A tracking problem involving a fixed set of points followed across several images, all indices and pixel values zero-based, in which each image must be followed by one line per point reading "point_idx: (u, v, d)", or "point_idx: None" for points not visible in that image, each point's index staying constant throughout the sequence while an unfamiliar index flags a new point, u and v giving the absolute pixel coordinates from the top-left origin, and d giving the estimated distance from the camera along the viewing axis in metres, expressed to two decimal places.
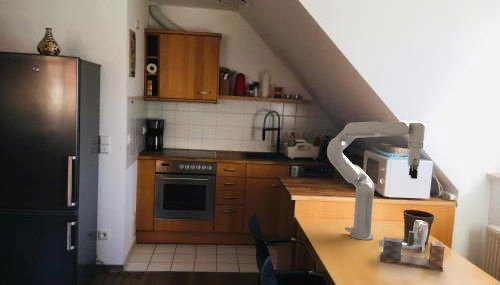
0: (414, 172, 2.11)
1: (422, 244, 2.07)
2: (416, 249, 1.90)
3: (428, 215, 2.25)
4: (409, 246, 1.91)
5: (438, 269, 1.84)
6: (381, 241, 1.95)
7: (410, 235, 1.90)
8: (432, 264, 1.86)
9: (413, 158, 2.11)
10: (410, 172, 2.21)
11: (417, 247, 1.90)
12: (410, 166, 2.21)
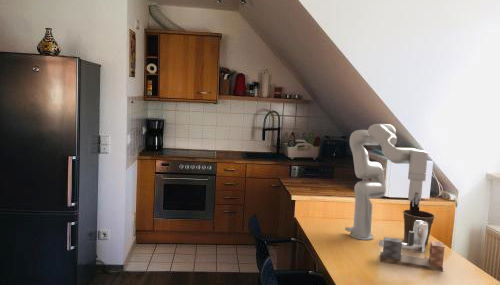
0: (415, 208, 1.84)
1: (422, 244, 2.07)
2: (416, 249, 1.90)
3: (428, 215, 2.25)
4: (409, 246, 1.91)
5: (438, 269, 1.84)
6: (381, 241, 1.95)
7: (410, 235, 1.90)
8: (432, 264, 1.86)
9: (414, 192, 1.84)
10: (411, 206, 1.94)
11: (417, 247, 1.90)
12: None
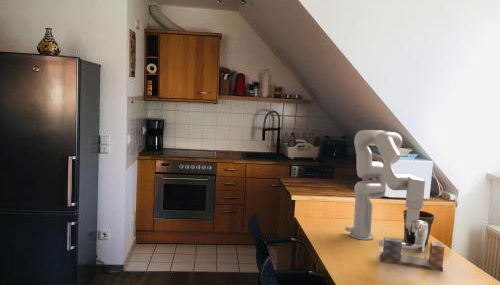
0: (411, 237, 1.89)
1: (422, 244, 2.07)
2: (416, 249, 1.90)
3: (428, 215, 2.25)
4: (409, 246, 1.91)
5: (438, 269, 1.84)
6: (381, 241, 1.95)
7: None
8: (432, 264, 1.86)
9: (411, 220, 1.86)
10: None
11: (417, 247, 1.90)
12: (408, 229, 1.93)
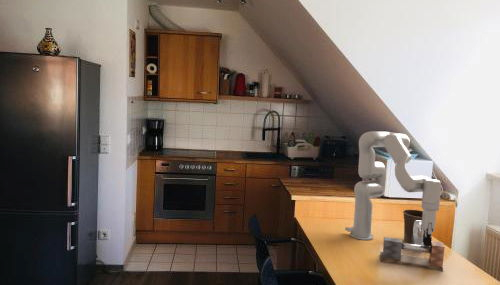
0: (428, 239, 1.87)
1: (422, 244, 2.07)
2: None
3: None
4: (425, 248, 1.89)
5: (438, 269, 1.84)
6: None
7: None
8: (432, 264, 1.86)
9: (427, 222, 1.84)
10: None
11: None
12: (424, 231, 1.91)
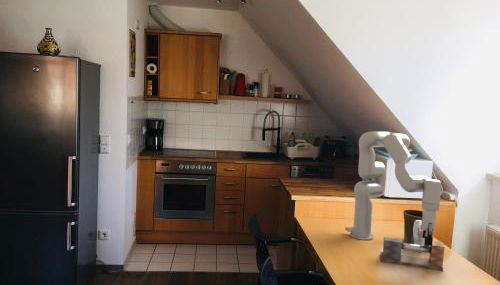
0: (429, 238, 1.84)
1: (422, 244, 2.07)
2: None
3: None
4: (425, 248, 1.89)
5: (438, 269, 1.84)
6: None
7: None
8: (432, 264, 1.86)
9: (428, 222, 1.84)
10: (424, 235, 1.94)
11: None
12: None
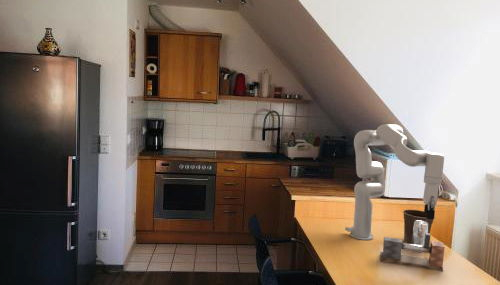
0: (431, 212, 1.83)
1: (422, 244, 2.07)
2: None
3: None
4: (425, 248, 1.89)
5: (438, 269, 1.84)
6: None
7: (426, 237, 1.88)
8: (432, 264, 1.86)
9: (430, 196, 1.83)
10: (426, 209, 1.93)
11: None
12: None
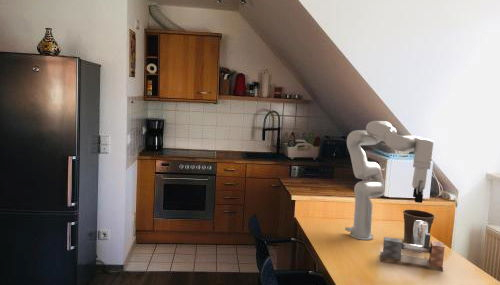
0: (419, 195, 1.88)
1: (422, 244, 2.07)
2: None
3: (428, 215, 2.25)
4: (425, 248, 1.89)
5: (438, 269, 1.84)
6: None
7: (426, 237, 1.88)
8: (432, 264, 1.86)
9: (418, 180, 1.88)
10: (414, 193, 1.98)
11: None
12: None
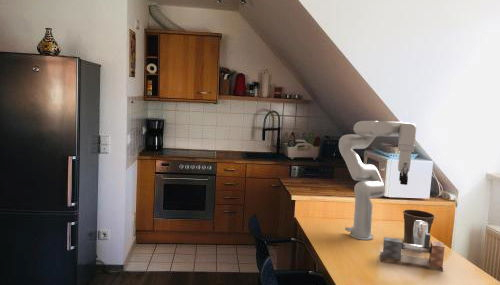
0: (404, 177, 1.94)
1: (422, 244, 2.07)
2: None
3: (428, 215, 2.25)
4: (425, 248, 1.89)
5: (438, 269, 1.84)
6: None
7: (426, 237, 1.88)
8: (432, 264, 1.86)
9: (403, 162, 1.94)
10: (400, 177, 2.04)
11: None
12: (400, 171, 2.04)
